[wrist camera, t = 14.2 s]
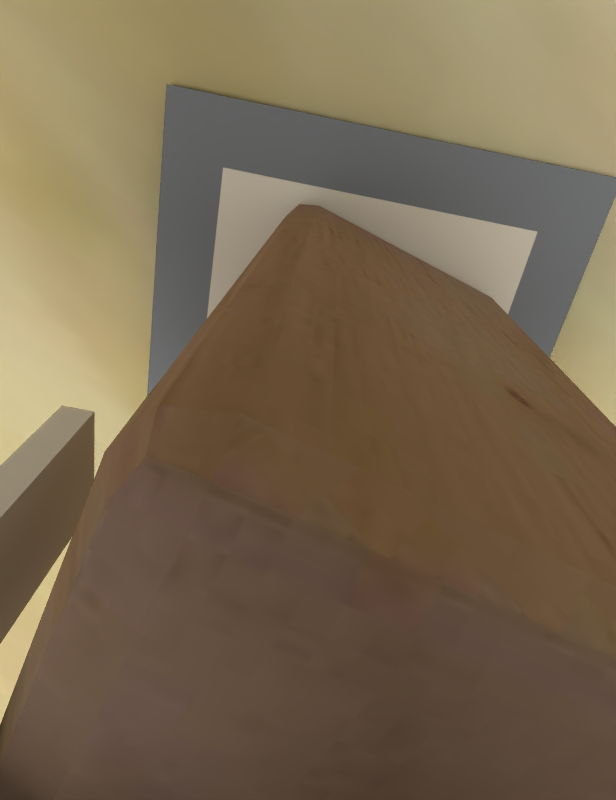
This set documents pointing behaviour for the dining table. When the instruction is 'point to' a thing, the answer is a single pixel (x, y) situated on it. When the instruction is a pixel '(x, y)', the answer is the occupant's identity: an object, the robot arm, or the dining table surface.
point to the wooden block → (336, 558)
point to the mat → (360, 210)
